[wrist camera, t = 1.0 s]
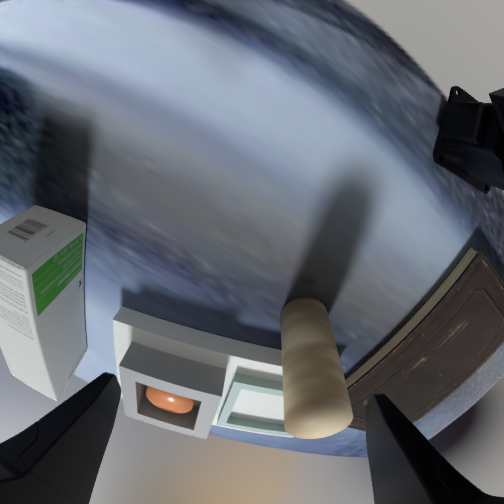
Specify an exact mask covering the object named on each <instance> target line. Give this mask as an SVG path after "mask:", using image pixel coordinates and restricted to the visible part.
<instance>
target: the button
mask: <svg viewBox="0 0 504 504" xmlns="http://www.w3.org/2000/svg"><path fill="white" fill-rule="evenodd" d="M146 396H147V398H148V399H149V401H150V402H151V403H152V404H154V405H155V406H157V407H158V408H160V409H162V410H165V411H167V412H171V413H186V412H189V411H190V410H191V409H192V407H193V404H194V399H190V398H186V397H183V396H179V395H176V394H172V393H169V392H166V391H162V390H159V389H156V388H153V387H150V386H148V388H147V390H146Z"/></svg>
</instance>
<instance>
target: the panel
mask: <svg viewBox="0 0 504 504" xmlns="http://www.w3.org/2000/svg"><path fill="white" fill-rule="evenodd" d="M113 332H114V347H115V358H116V368H117V377H118V382H119V384H120V387H121V397H123V404H124V411H125V415H127V416H129V417H133V418H135V419H138V420H141V421H143V422H147V423H149V424H152V425H156V426H159V427H162V428H165V429H169V430H172V431H176V432H179V433H183V434H187V435H191V436H195V437H199V438H203V439H206V438H207V436H208V433H209V430H210V428H211V425H217V426H221V427H226V428H231V429H236V430H242V431H248V432H254V433H260V434H267V435H275V436H284V437H293V436H292V435H290V434H288V433H287V432H286V431H285V429H284V403H283V372H282V350H279V349H274V348H269V347H265V346H260V345H256V344H251V343H247V342H243V341H239V340H235V339H231V338H227V337H223V336H219V335H215V334H211V333H207V332H204V331H200V330H197V329H193V328H190V327H186V326H183V325H179V324H176V323H173V322H169V321H166V320H163V319H160V318H156V317H153V316H150V315H147V314H144V313H141V312H138V311H135V310H132V309H129V308H126V307H124V306H122V307H121V309H120V310H119V311H118V313H117V314H116V316H115V317H114V318H113ZM148 386H150V387H153V388H156V389H159V390H162V391H166V392H169V393H172V394H176V395H179V396H183V397H186V398H190V399H194V404H193V407H192V409H191V410H190V411H189V412H186V413H171V412H167V411H165V410H162V409H160V408H158V407H157V406H155V405H154V404H152V403H151V402H150V401H149V399H148V398H147V396H146V390H147V388H148Z"/></svg>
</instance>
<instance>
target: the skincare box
mask: <svg viewBox="0 0 504 504" xmlns="http://www.w3.org/2000/svg"><path fill="white" fill-rule="evenodd" d="M85 235H86V223H85V222H83V221H81V220H78V219H75V218H73V217H70V216H67V215H64V214H62V213H59V212H56V211H53V210H50V209H47V208H44V207H41V206H37V205H34V206H32V207H30V208H29V209H27V210H25V211H23V212H21V213H19V214H18V215H16V216H14V217H12V218H11V219H9V220H7V221H5V222H4V223H2V224H0V347H1V350H2V352H3V355H4V357H5V360H6V362H7V364H8V367H9V369H10V372H11V374H12V375H13V376H14V377H16V378H18V379H19V380H21V381H22V382H24V383H25V384H27V385H29V386H30V387H32V388H34V389H35V390H37V391H39V392H41V393H42V394H44V395H46V396H48V397H50V398H52V399H54V400H56V401H59V399H60V397H61V395H62V393H63V392H64V390H65V388H66V386H67V385H68V383H69V381H70V379H71V377H72V376H73V374H74V372H75V370H76V369H77V367H78V365H79V363H80V362H81V360H82V358H83V356H84V355H85V353H86V352H87V343H86V332H85V316H84V252H85Z"/></svg>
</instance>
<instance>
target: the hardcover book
mask: <svg viewBox="0 0 504 504" xmlns="http://www.w3.org/2000/svg"><path fill="white" fill-rule="evenodd" d="M503 343H504V283H503V281H502V280H501V278H500V277H499V275H498V273H497V272H496V270H495V269H494V267H493V266H492V264H491V263H490V261H489V260H488V259H487V257H486V256H485V254H484V253H483V251H482V250H481V249H479V250H478V252H477V251H475V250H474V249H473V248H471V247H470V249H469V250H468V251H467V253H466V254H465V255H464V257H463V258H462V259H461V261H460V262H459V263H458V265H457V266H456V267H455V269H454V270H453V271H452V272H451V274H450V275H449V276H448V277H447V279H446V280H445V281H444V282H443V284H442V285H441V286H440V287H439V288H438V290H437V291H436V292H435V293H434V294H433V295H432V297H431V298H430V299H429V300H428V301H427V302H426V303H425V304H424V306H423V307H422V308H421V309H420V310H419V311H418V312H417V313H416V314H415V315H414V316H413V317H412V319H411V320H410V321H409V322H408V323H407V324H406V325H405V326H404V327H403V328H402V329H401V330H400V331H399V332H398V333H397V334H396V335H395V336H394V337H393V338H392V339H391V340H390V341H389V342H388V343H387V344H385V345H384V346H383V347H382V348H381V349H380V350H379V351H378V352H377V353H376V354H375V355H374V356H373V357H371V358H370V359H369V360H368V361H367V362H366V363H365V364H364V365H362V366H361V367H360V368H359V369H358V370H357V371H355V372H354V373H353V374H352V375H351V376H349V377H348V378H347V379H346V380H345V382H346V386H347V391H348V395H349V399H350V404H351V408H352V413H353V419H352V422H351V423H350V424H349V425H348V426H347V427H350V428H354V429H358V430H362V431H366V426H365V407H366V405H367V403H368V401H369V399H370V398H371V396H372V395H373V394H376V393H384V394H385V395H386V396H387V397H388V398H389V399H390V400H391V401H392V402H393V403H394V404H395V405H396V406H397V407H398V409H399V410H400V411H401V412H402V413H403V414H404V415H405V416H406V417H407V418H408V419H409V420H410V421H411V422H412V424H413V423H415V422H416V421H418V420H419V419H420V418H422V417H423V416H424V415H426V414H427V413H428V412H430V411H431V410H432V409H434V408H435V407H436V406H437V405H439V404H440V403H441V402H442V401H444V400H445V399H446V398H447V397H448V396H450V395H451V394H452V393H453V392H454V391H455V390H457V389H458V388H459V387H460V386H461V385H462V384H463V383H464V382H466V381H467V380H468V379H469V378H470V377H471V376H472V375H473V374H474V373H475V372H476V371H477V370H478V369H479V368H480V367H481V366H482V365H483V364H484V363H485V362H486V361H487V360H488V359H489V358H490V357H491V356H492V355H493V354H494V353H495V352H496V350H497V349H498V348H499V347H500V346H501V345H502V344H503Z"/></svg>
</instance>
